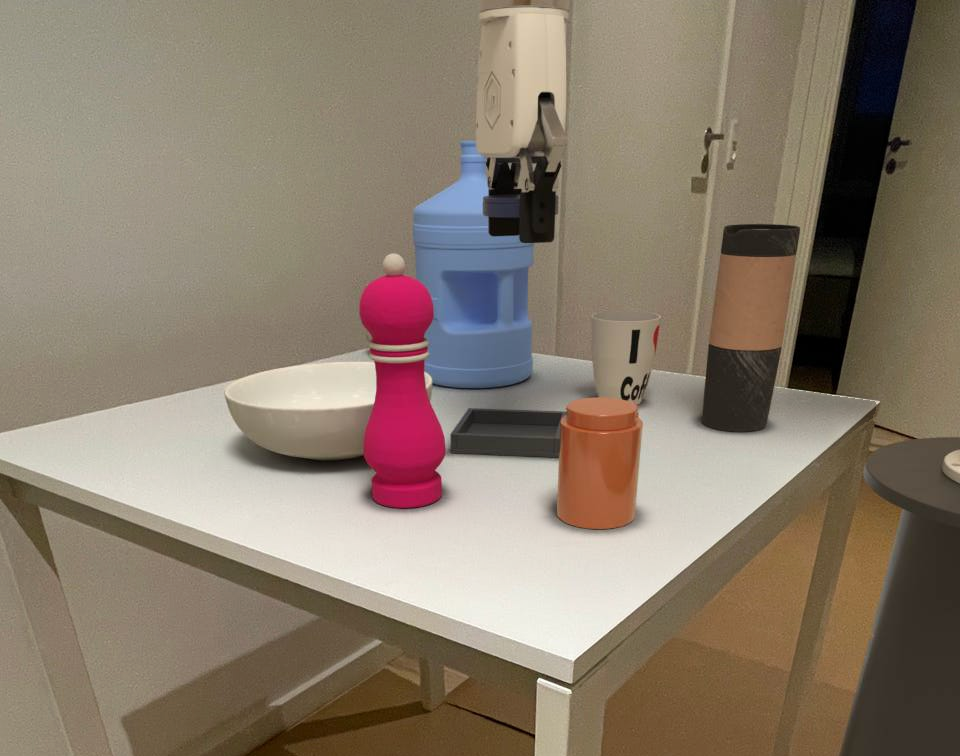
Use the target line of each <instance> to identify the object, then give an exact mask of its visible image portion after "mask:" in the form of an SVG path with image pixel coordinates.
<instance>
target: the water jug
mask: <svg viewBox="0 0 960 756" xmlns="http://www.w3.org/2000/svg"><path fill="white" fill-rule="evenodd" d="M459 145H460V147H461V148H460V149H461V150H460V151H461V155H460V156H459V160H460V161H459V162H460V176H459V178H458V180H457V181H456V182H454V183H453V184H451V185H449V186H448V187H446V188H445V189H442V190H441V191H440V192H439V191H438V193H436V194H435V195H432V197H430V198H428V199H427V200H425V201H423V202H421V203H419V204H418V205H416V206H415V207H414V208H413V211H412V215H413V216H412V217H413V218H412V219H413V223H412V241H413V246H414V261H415V262H414V264H415V279H417V280H418V281H420V282H421V283H422V284H423V285H424V286H425V287H426V288H427V290H428V291H429V293H430V295H431V298H432V302H433V308H434V317H433V321H432V323H431V325H430V326H429V328H428V329H427V331H426V332H425V335H424V338H426V339H428V341H429V344H428V346H427V347H428V351H429V356H428V357H427V358H426V359H425V366H424V372H426V373H428V374H429V375H430V376H431V378H432V381H433V383H432V385H436V386H443V387H448V388H456V389H490V388H491V389H492V388H498V387H499V388H500V387H507V386H511V385H515V384H518V383H521V382H523V381H525V380H526V379H528V378H529V377H530V376H531V374H532V372H533V365H534V364H533V362H534V360H533V359H534V358H533V356H532V355H533V354H532V353H533V322H532V321H531V319H530V316H529V311H528V310H529V309H528V307H529V269H530V267H532V266H533V265H534V260H535V259H534V258H535V257H534V256H535V254H534V253H535V243H522V242H520V240H519V235H518V236H495V237H494V236H490V235H489V232H488V216H484V215H483V197H484V196H488V189H489V188H488V186H487V178H488V175H487V172H486V162H487V157H482V156H481V155H480V154H479V153H478V151H477V149H476V140H460V141H459Z"/></svg>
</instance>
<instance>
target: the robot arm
mask: <svg viewBox="0 0 960 756" xmlns="http://www.w3.org/2000/svg"><path fill="white" fill-rule="evenodd" d="M569 21H570V0H478V23H479V24H481V25H482V28H481V35H480V44H479V51H478V52H479V53H478V63H477V64H478V65H477V81H476V82H477V84H476V109H475V111H476V114H475V141H476V149H477V151H478V153H479V154H480V155H481V156H482V157H486V163H485V168H486V169H487V173H488V174H487V186H488V188H489V189H488V196H490V195H505V194H520V218H503V217H488V232H489V235H490V236H494V237H495V236H518V235H519V240H520V242H522V243H534V244H542V243H543V244H545V243H553V242H554V240H555V231H556V230H555V229H556V215H555V204H556V195H557V191H558V189H559V173H560V171H561V168H562V159H563V156H564V154H565V151H566V148H567V145H568V144H567V143H568V138H567V134H566V124H567V123H566V122H567V119H566V118H567V45H566V27H565V25H566V23H569ZM509 164H511V165H509ZM533 164H534V165H535V167H533ZM521 175H522V180H523V181H522V182H523V188H524V191H523V188H518V186H519V182H520V176H521ZM942 471H943V472H944V474H945V475H946V476H947V477H949V478H950V479H951V480H953V481H955V482H957V483H959V484H960V450H956V451H953V452H951V453H949V454H948V455H947V456H945V458H944V461H943V465H942Z"/></svg>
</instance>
